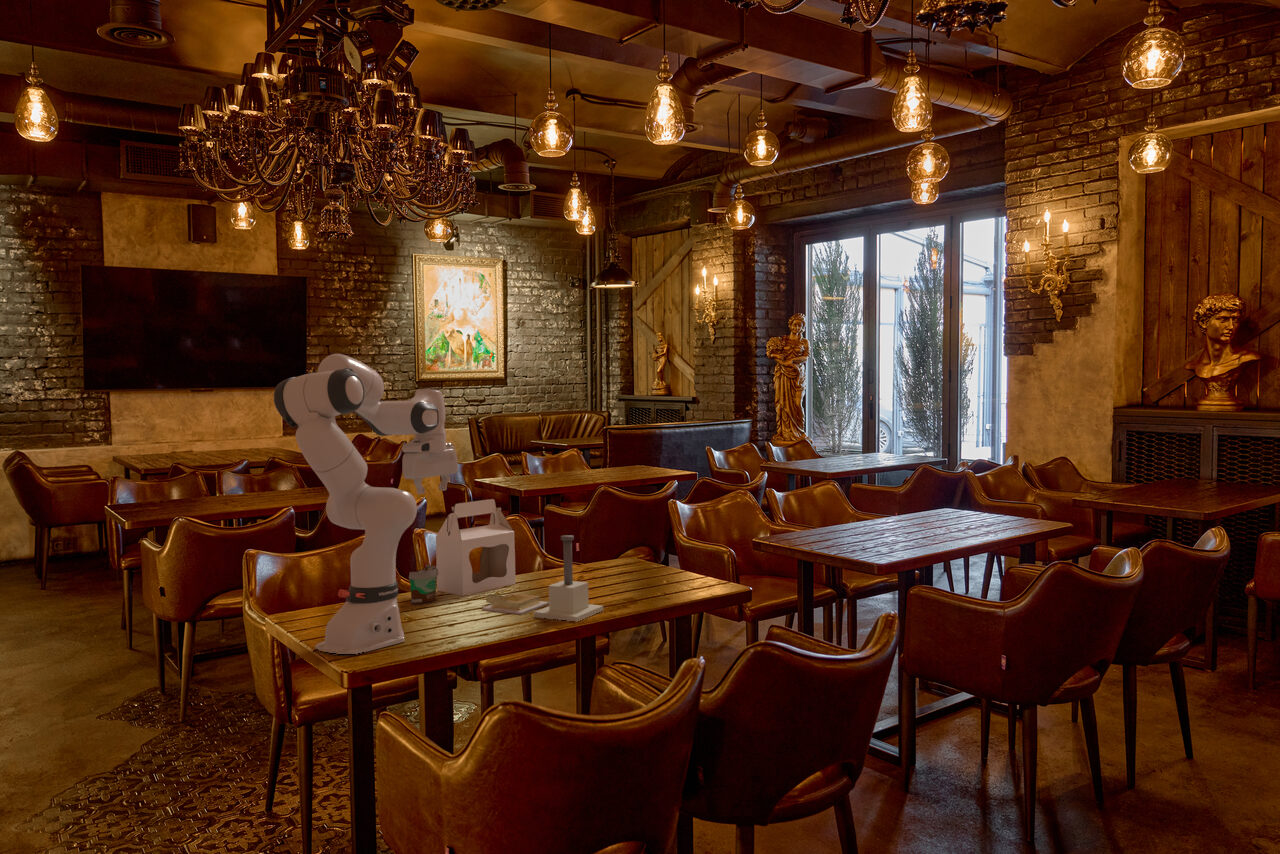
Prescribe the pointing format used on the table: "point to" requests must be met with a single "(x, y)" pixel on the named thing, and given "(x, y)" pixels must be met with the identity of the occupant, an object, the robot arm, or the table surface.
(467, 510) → the gable box
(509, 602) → the ring
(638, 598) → the table surface
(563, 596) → the stand
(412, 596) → the food container
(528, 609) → the mat
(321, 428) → the robot arm
